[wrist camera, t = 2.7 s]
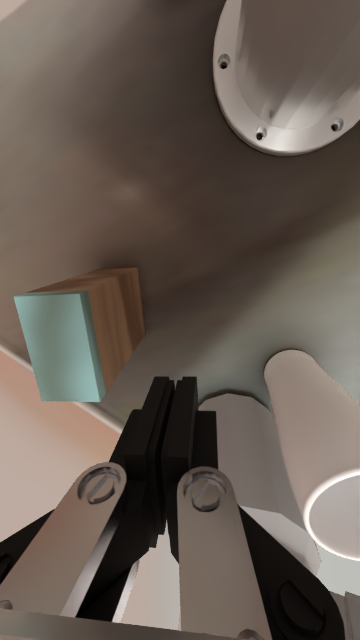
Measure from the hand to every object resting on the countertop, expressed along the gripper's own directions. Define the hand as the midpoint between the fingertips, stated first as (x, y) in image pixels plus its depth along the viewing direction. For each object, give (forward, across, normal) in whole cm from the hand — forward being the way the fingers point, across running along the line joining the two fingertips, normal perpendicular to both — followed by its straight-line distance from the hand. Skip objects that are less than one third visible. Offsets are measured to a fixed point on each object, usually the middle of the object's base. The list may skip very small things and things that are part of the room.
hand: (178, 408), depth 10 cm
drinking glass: (+17, -9, +7) cm, 21 cm away
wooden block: (+17, +8, -1) cm, 18 cm away
